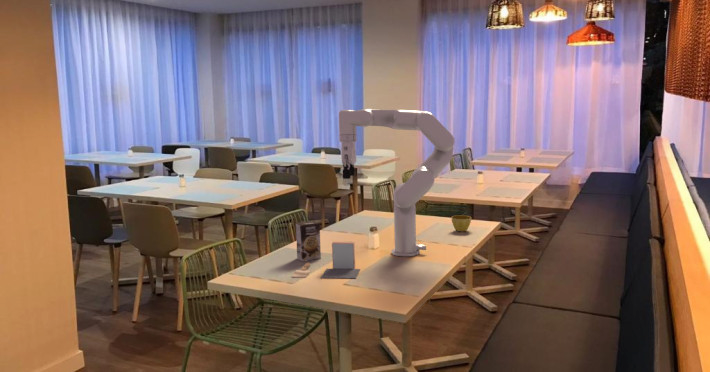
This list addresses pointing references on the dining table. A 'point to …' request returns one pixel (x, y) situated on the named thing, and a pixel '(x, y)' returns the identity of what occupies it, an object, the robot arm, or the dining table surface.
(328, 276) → the charcoal mat
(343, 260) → the pale grey upright block
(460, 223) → the flower pot
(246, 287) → the dining table surface
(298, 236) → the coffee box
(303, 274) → the beech turner
